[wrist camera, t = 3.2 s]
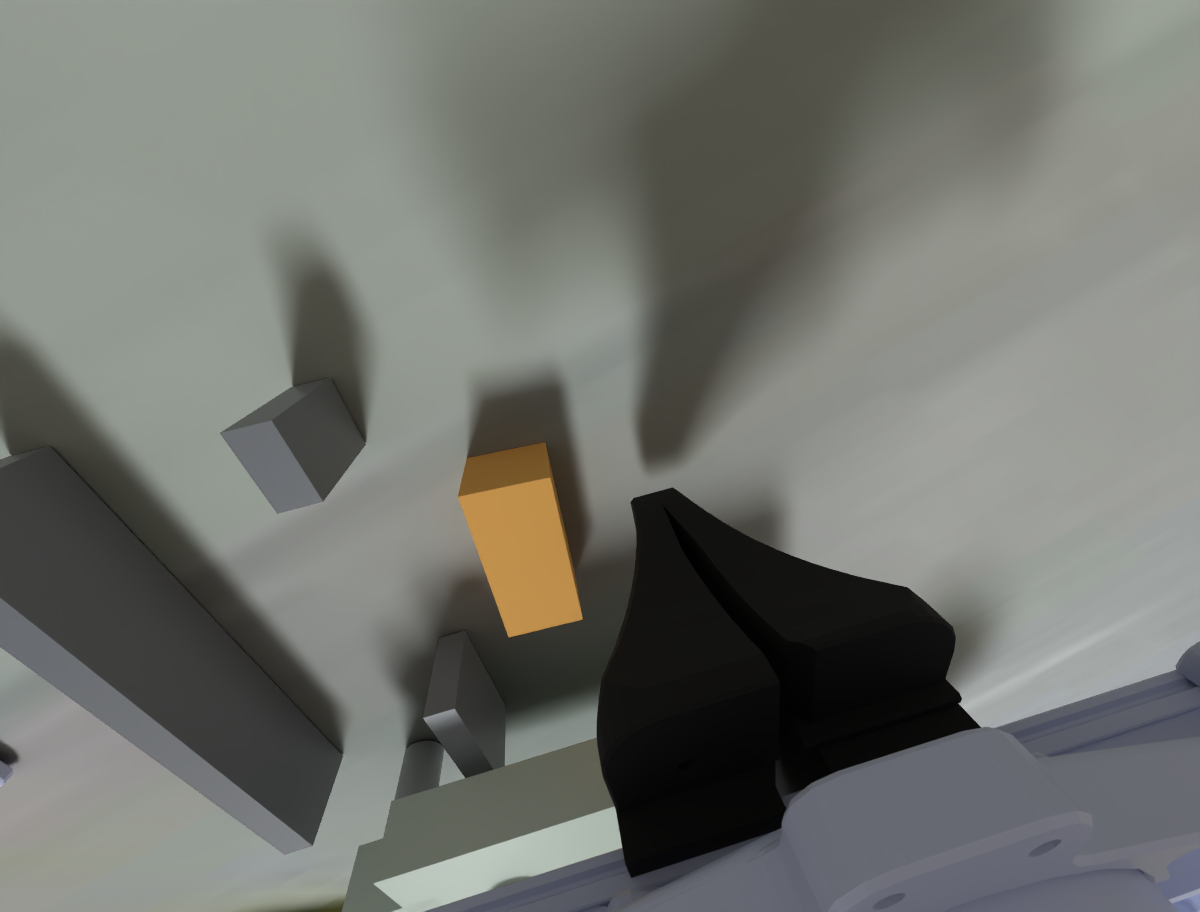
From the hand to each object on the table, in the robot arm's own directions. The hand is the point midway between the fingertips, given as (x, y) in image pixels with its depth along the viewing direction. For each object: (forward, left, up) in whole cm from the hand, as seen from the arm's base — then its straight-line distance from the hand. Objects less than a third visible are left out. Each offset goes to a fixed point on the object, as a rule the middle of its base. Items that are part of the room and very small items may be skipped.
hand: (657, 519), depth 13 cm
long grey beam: (-12, -2, -2) cm, 12 cm away
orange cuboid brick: (-4, 0, -2) cm, 5 cm away
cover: (-5, -10, -2) cm, 12 cm away
